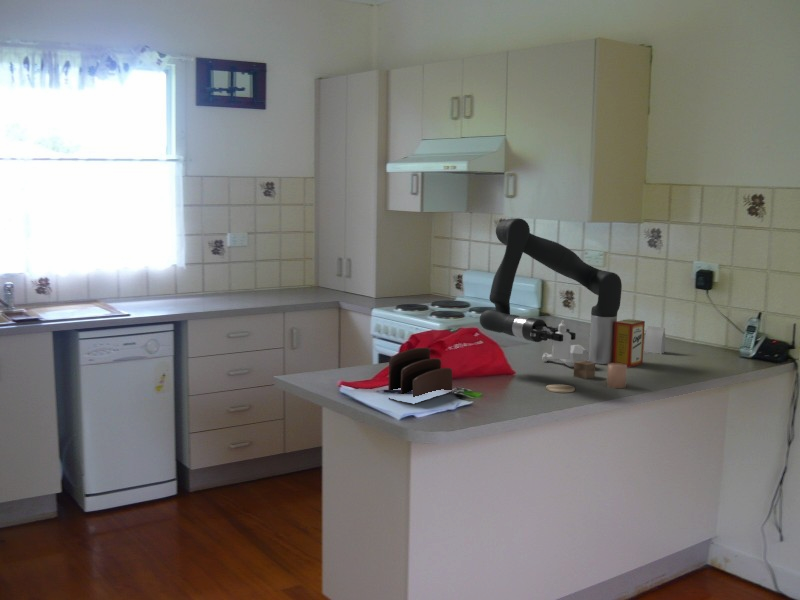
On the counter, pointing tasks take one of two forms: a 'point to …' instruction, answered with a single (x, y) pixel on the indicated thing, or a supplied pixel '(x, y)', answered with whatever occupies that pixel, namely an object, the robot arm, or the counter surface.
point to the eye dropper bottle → (562, 344)
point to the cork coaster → (560, 388)
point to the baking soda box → (629, 342)
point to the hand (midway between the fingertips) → (568, 337)
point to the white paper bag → (655, 340)
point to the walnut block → (584, 369)
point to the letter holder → (418, 372)
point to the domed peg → (616, 375)
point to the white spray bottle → (575, 355)
